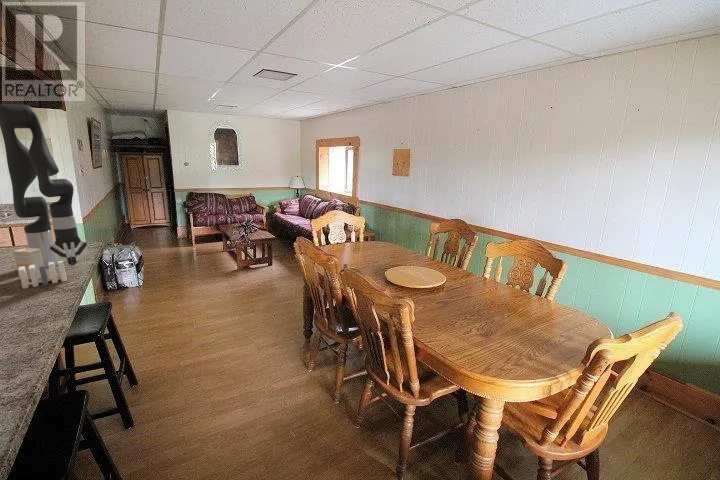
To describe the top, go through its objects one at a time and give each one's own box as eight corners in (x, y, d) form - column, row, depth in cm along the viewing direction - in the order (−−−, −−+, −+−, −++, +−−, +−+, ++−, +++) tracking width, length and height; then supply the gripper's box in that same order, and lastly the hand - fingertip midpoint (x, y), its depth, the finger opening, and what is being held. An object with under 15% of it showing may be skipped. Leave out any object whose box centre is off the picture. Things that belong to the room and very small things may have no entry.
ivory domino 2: (33, 283, 142) (29, 265, 140) (38, 282, 143) (34, 264, 141) (33, 286, 138) (28, 268, 136) (38, 285, 140) (34, 267, 137)
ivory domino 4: (61, 278, 148) (57, 261, 146) (66, 277, 149) (62, 260, 147) (61, 281, 144) (58, 264, 142) (66, 280, 145) (62, 263, 143)
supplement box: (47, 276, 149) (41, 248, 146) (36, 280, 145) (29, 251, 141) (30, 275, 150) (24, 247, 147) (19, 279, 145) (11, 250, 142)
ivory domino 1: (23, 284, 140) (19, 266, 138) (29, 283, 141) (24, 266, 139) (23, 288, 137) (18, 270, 134) (28, 287, 138) (23, 269, 135)
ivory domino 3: (52, 279, 146) (48, 262, 144) (57, 279, 147) (53, 261, 145) (52, 283, 142) (48, 265, 140) (57, 282, 143) (53, 264, 141)
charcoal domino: (43, 281, 144) (39, 263, 142) (48, 280, 145) (44, 263, 143) (43, 285, 140) (38, 267, 138) (48, 284, 142) (44, 266, 139)
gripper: (43, 230, 136) (52, 270, 141) (85, 226, 145) (92, 264, 149) (43, 227, 141) (52, 265, 146) (83, 223, 150) (91, 259, 155)
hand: (72, 264), depth 148 cm, fingers closed
